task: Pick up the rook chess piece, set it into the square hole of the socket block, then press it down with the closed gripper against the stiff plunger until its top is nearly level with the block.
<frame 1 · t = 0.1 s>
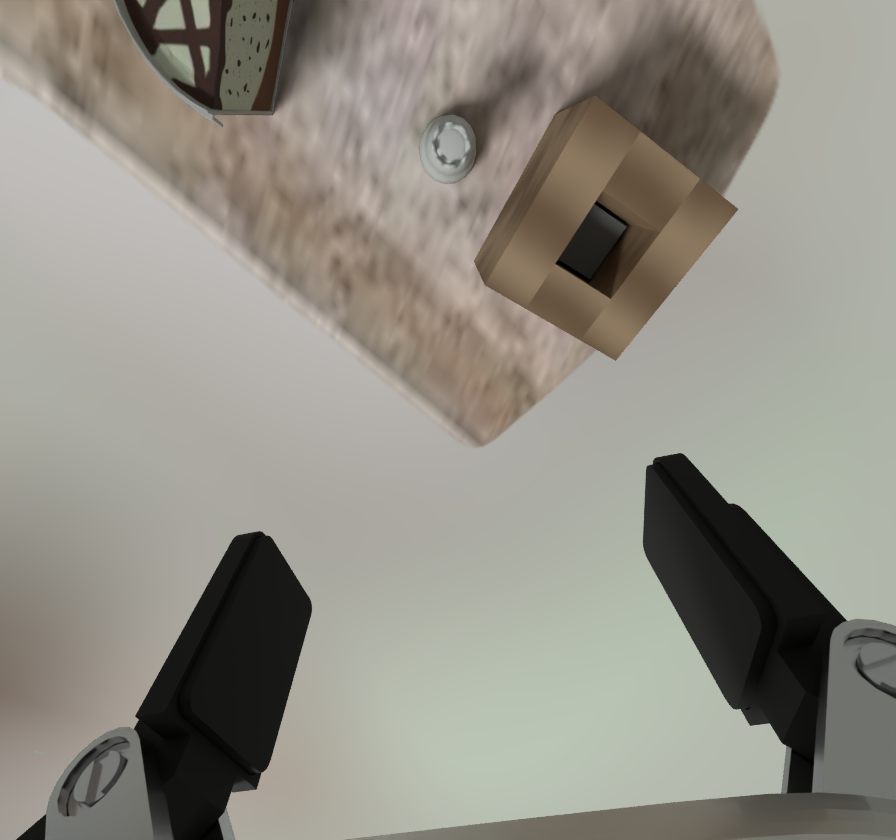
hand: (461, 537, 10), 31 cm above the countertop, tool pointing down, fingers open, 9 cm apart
plunger: (583, 238, 32), point 4 cm above the countertop, slide at 0.0 cm
rook chess piece: (447, 151, 32), on the countertop
food container: (241, 15, 28), on the countertop
socket block: (569, 232, 35), on the countertop
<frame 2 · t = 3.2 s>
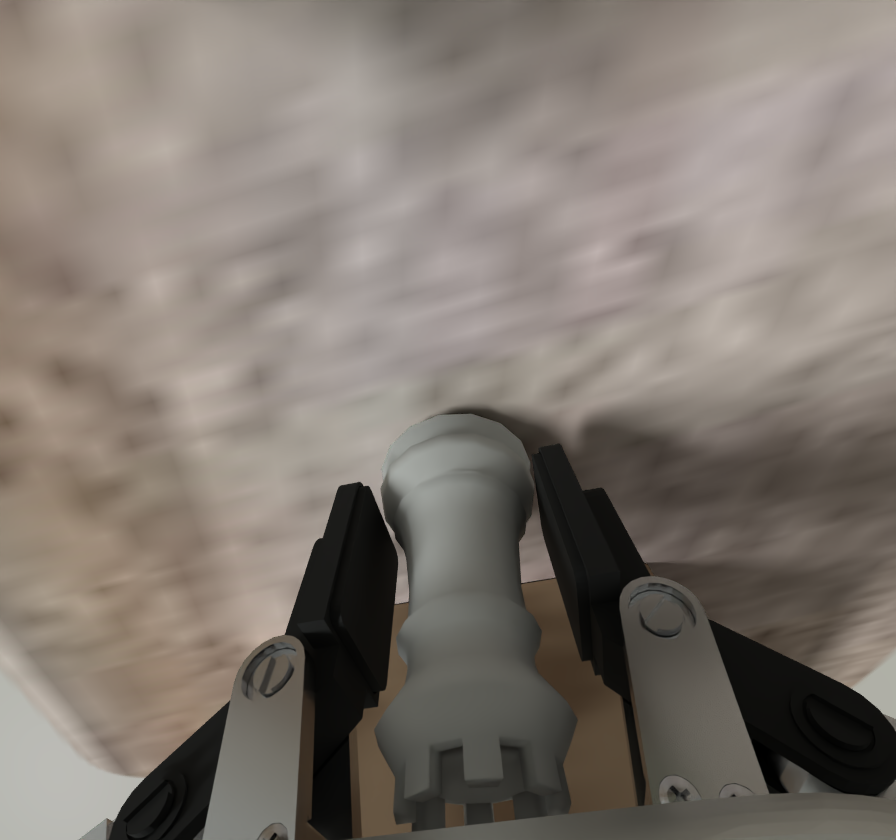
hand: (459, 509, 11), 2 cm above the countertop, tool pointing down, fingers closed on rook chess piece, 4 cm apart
rook chess piece: (455, 463, 13), on the countertop, touching gripper
socket block: (509, 671, 19), on the countertop
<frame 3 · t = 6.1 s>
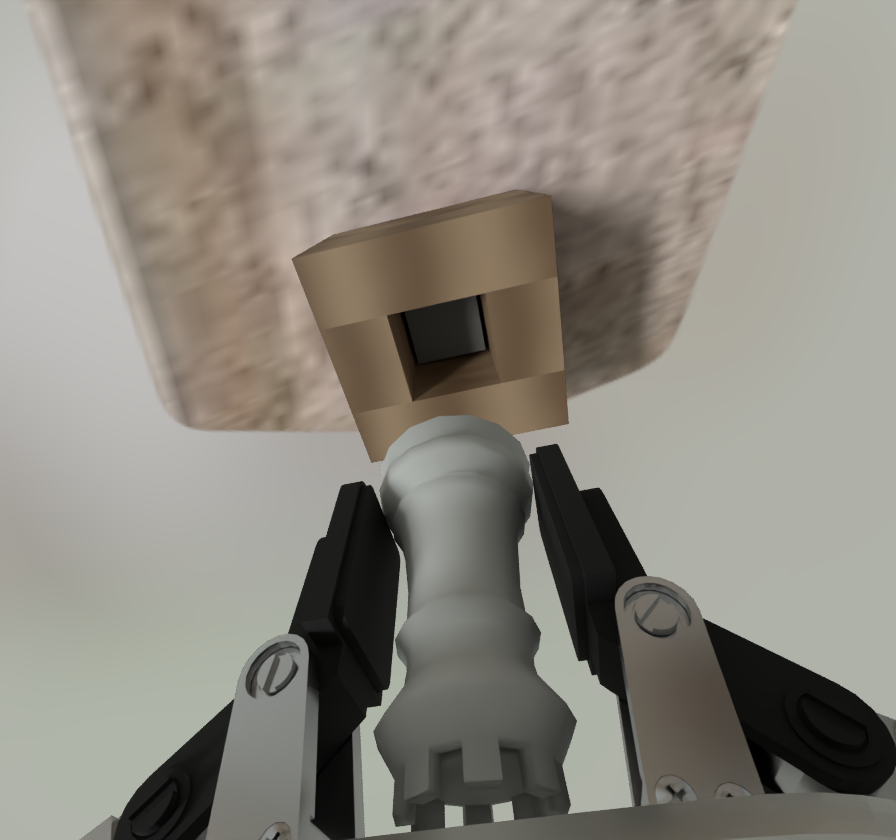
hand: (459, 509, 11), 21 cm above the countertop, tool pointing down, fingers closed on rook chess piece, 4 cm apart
plunger: (444, 321, 26), point 4 cm above the countertop, slide at 0.0 cm
rook chess piece: (454, 464, 13), point 19 cm above the countertop, touching gripper
socket block: (443, 304, 29), on the countertop
when the fingers open (10 cm above the countertop, at t = 8.7 s): rook chess piece drops 7 cm, resting on plunger.
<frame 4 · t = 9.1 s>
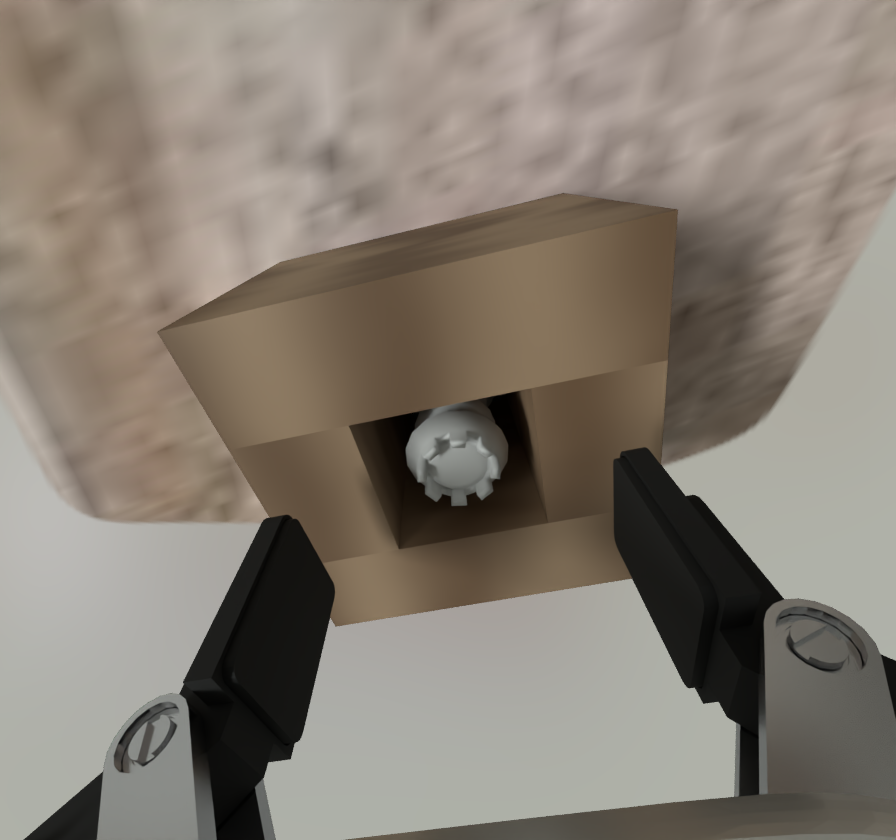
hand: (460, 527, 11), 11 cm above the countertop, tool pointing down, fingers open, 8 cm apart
plunger: (448, 364, 20), resting in socket block, slide at -3.5 cm, touching rook chess piece
rook chess piece: (449, 364, 19), point 1 cm above the countertop, touching plunger
socket block: (448, 361, 20), on the countertop
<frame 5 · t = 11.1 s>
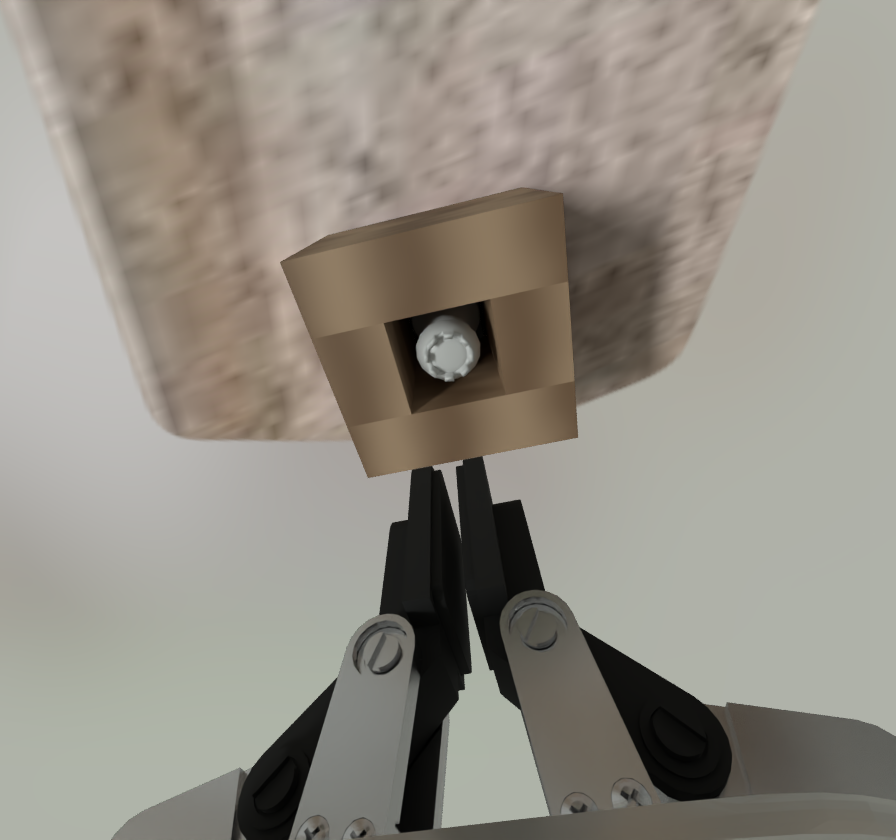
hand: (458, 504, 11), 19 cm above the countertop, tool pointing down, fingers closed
plunger: (444, 311, 27), resting in socket block, slide at -3.5 cm, touching rook chess piece
rook chess piece: (445, 310, 27), point 1 cm above the countertop, touching plunger
socket block: (444, 309, 28), on the countertop
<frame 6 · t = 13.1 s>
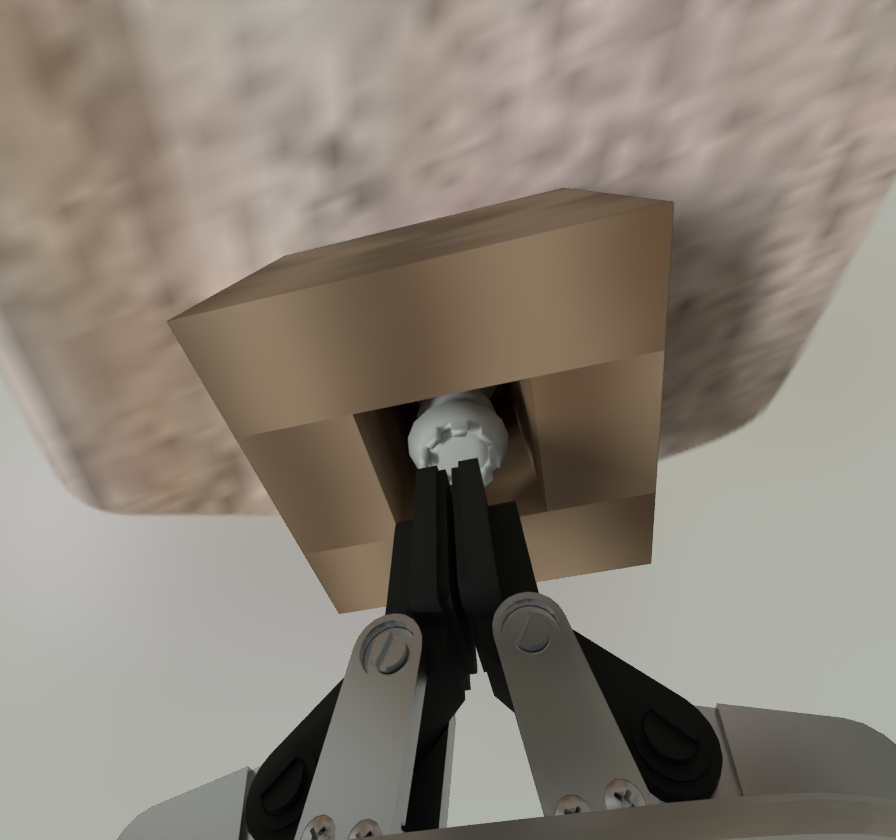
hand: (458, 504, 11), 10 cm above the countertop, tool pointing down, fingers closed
plunger: (449, 358, 20), resting in socket block, slide at -3.5 cm, touching rook chess piece
rook chess piece: (450, 358, 19), point 1 cm above the countertop, touching plunger
socket block: (449, 354, 20), on the countertop
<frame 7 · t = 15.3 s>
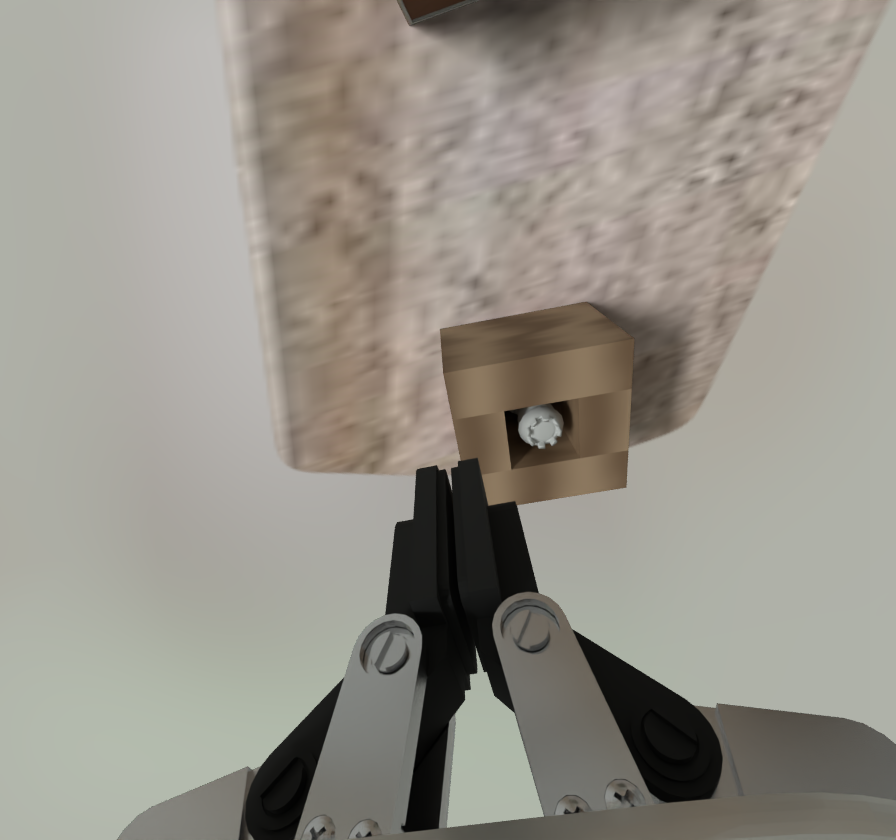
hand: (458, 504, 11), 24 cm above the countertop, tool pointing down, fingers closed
rook chess piece: (521, 383, 36), point 1 cm above the countertop, touching plunger
socket block: (518, 381, 36), on the countertop
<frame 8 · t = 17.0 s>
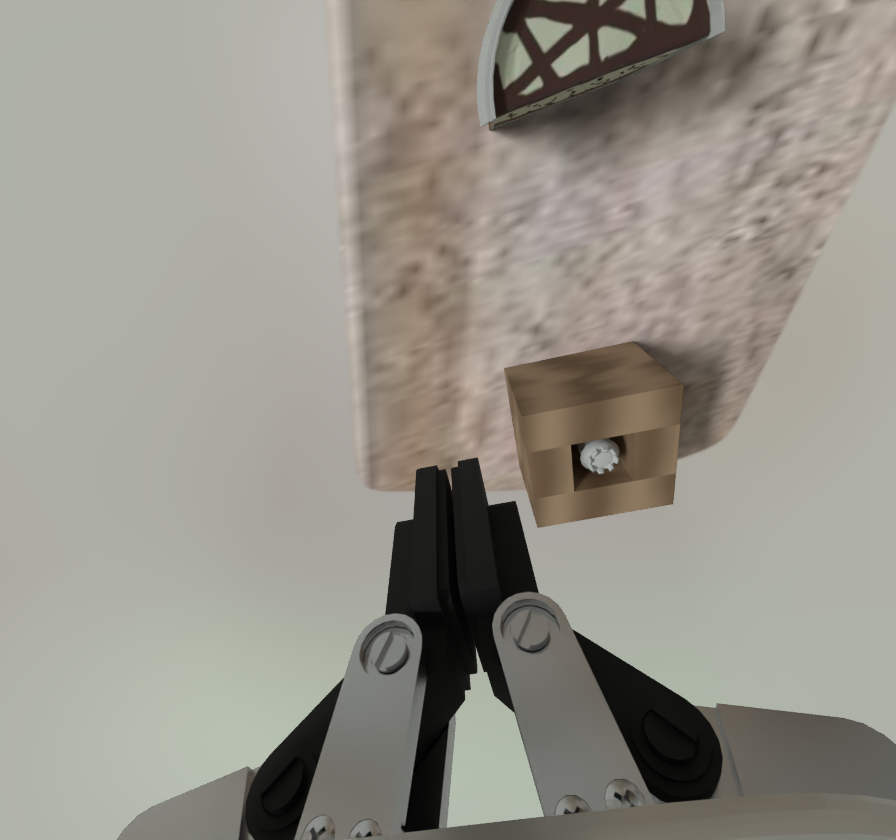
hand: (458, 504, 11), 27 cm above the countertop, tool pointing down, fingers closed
rook chess piece: (574, 412, 41), point 1 cm above the countertop, touching plunger
food container: (545, 51, 27), on the countertop
socket block: (571, 409, 41), on the countertop
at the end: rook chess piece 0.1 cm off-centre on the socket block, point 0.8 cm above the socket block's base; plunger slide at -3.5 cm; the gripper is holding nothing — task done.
